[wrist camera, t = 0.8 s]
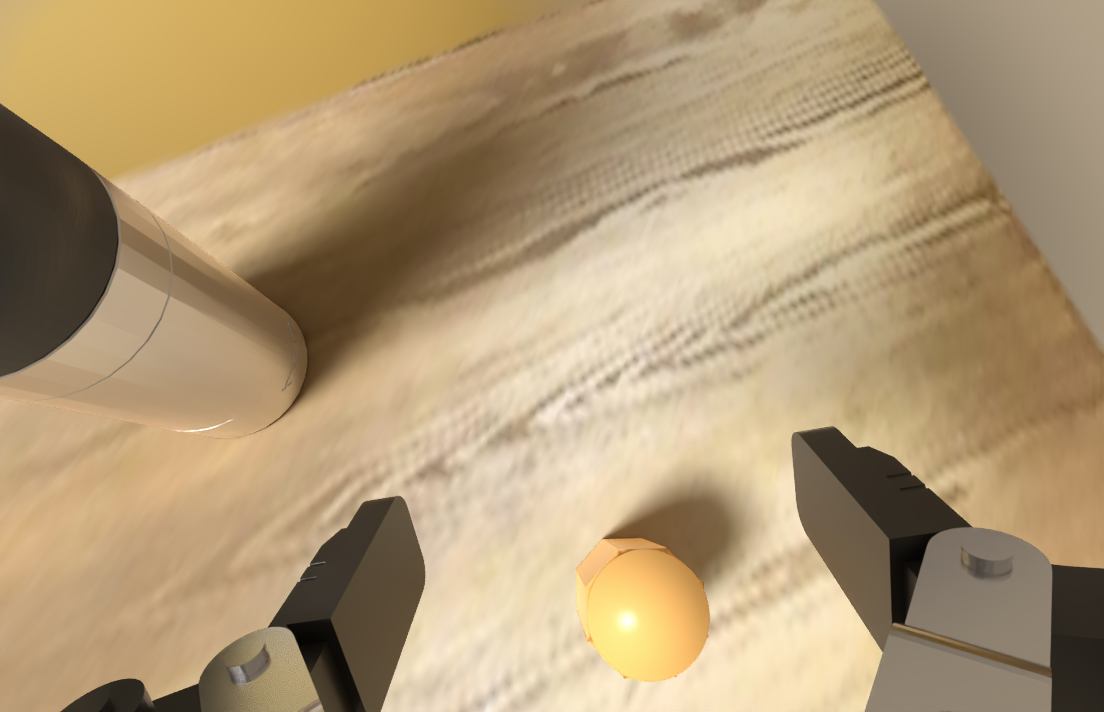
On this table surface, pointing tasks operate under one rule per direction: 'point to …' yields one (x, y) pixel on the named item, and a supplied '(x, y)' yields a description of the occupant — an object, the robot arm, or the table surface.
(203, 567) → the table surface
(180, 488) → the table surface
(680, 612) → the orange domed hexagonal post
